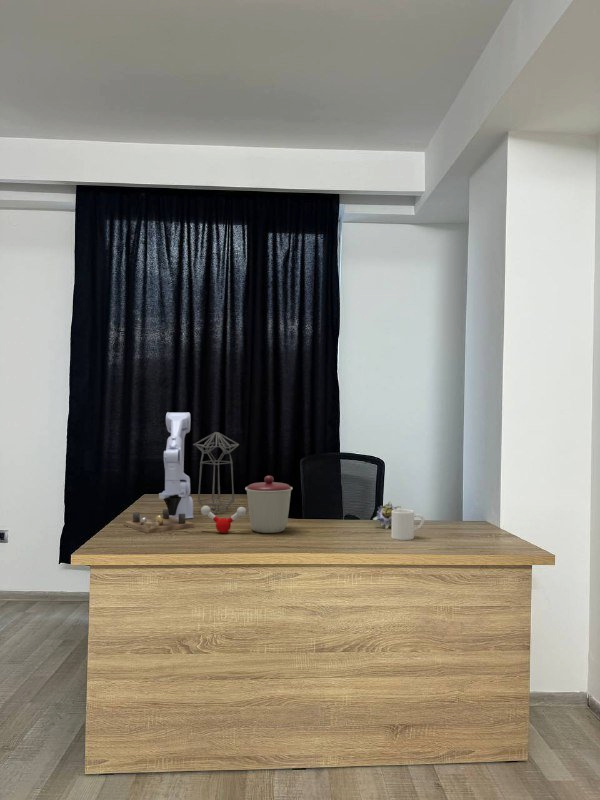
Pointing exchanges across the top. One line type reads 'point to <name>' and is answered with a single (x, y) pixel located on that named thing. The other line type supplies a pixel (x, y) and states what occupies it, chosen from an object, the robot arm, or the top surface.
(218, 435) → the geometric lantern
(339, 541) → the top surface
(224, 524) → the molecular model
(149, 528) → the wooden board with pegs
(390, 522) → the passion flower
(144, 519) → the metal crank handle
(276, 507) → the canister
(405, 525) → the mug
